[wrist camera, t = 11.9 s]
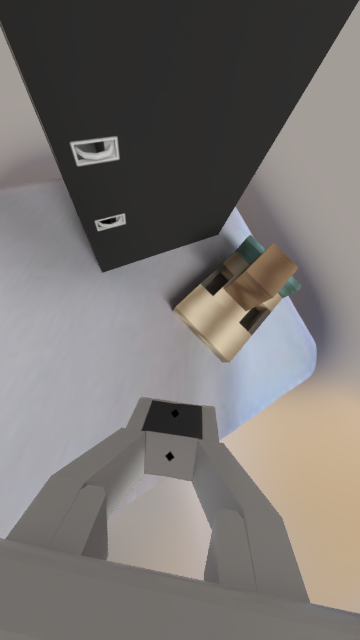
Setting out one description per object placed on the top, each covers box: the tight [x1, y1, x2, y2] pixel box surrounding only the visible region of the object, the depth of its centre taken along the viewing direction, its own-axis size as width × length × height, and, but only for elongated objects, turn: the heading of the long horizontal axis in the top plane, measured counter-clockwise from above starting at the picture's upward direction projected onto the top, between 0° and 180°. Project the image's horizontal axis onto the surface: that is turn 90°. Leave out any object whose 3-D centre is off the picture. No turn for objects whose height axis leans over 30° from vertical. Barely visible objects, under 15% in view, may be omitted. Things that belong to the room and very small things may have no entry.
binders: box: [0, 0, 359, 273], centre depth 25 cm, size 27×15×32 cm, turn 115°
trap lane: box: [173, 235, 301, 362], centre depth 36 cm, size 14×20×7 cm
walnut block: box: [225, 243, 298, 311], centre depth 34 cm, size 6×8×8 cm
